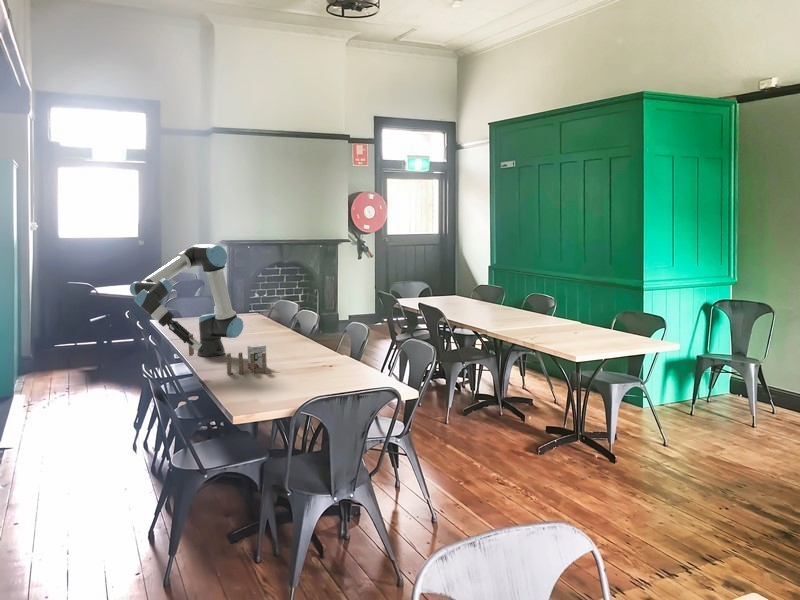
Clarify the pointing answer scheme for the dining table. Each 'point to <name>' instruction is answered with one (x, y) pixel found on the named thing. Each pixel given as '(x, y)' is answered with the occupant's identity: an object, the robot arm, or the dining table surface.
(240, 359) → the domino
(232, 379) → the dining table surface
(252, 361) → the domino
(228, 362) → the domino
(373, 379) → the dining table surface
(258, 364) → the ink box
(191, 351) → the head domino
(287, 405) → the dining table surface
